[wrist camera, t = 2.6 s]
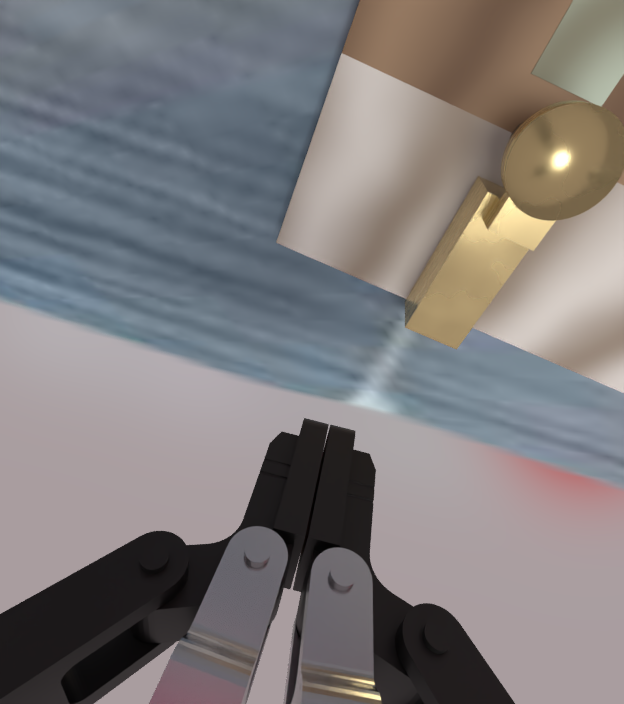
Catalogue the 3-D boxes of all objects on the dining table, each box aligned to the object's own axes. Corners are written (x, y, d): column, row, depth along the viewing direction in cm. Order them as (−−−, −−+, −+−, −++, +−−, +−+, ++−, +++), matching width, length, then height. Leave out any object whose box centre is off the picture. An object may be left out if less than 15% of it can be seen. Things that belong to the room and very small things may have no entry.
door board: (282, 232, 25) (259, 268, 21) (453, -255, 15) (472, -371, 11) (623, 380, 27) (663, 440, 22) (995, 34, 16) (1194, 29, 12)
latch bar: (522, 76, 18) (552, 82, 14) (606, 116, 18) (656, 132, 14) (396, 297, 24) (395, 340, 20) (459, 324, 24) (469, 372, 21)
